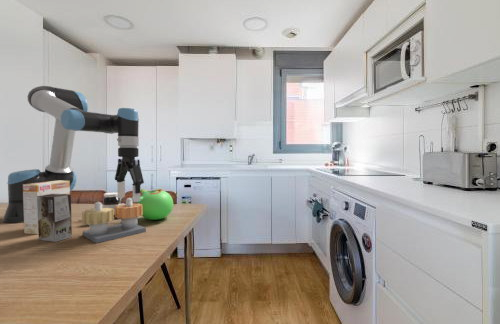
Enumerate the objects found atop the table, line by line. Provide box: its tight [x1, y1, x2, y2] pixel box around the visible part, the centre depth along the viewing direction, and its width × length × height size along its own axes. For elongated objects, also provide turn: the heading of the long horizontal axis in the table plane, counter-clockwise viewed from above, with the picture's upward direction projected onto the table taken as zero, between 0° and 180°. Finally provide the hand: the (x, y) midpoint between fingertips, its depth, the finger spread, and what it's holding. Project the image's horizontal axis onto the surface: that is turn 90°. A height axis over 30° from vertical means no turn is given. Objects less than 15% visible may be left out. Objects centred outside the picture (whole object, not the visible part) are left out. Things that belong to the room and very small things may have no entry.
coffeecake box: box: [23, 180, 71, 235], centre depth 108 cm, size 15×7×20 cm, turn 168°
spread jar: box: [102, 192, 125, 219], centre depth 129 cm, size 12×11×12 cm
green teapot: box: [130, 188, 174, 221], centre depth 124 cm, size 18×17×15 cm
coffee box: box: [37, 193, 73, 243], centre depth 96 cm, size 9×6×16 cm
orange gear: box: [114, 202, 143, 219], centre depth 106 cm, size 10×10×4 cm
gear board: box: [81, 197, 147, 244], centre depth 101 cm, size 14×20×13 cm
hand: (128, 199), depth 106 cm, fingers open, 13 cm apart
